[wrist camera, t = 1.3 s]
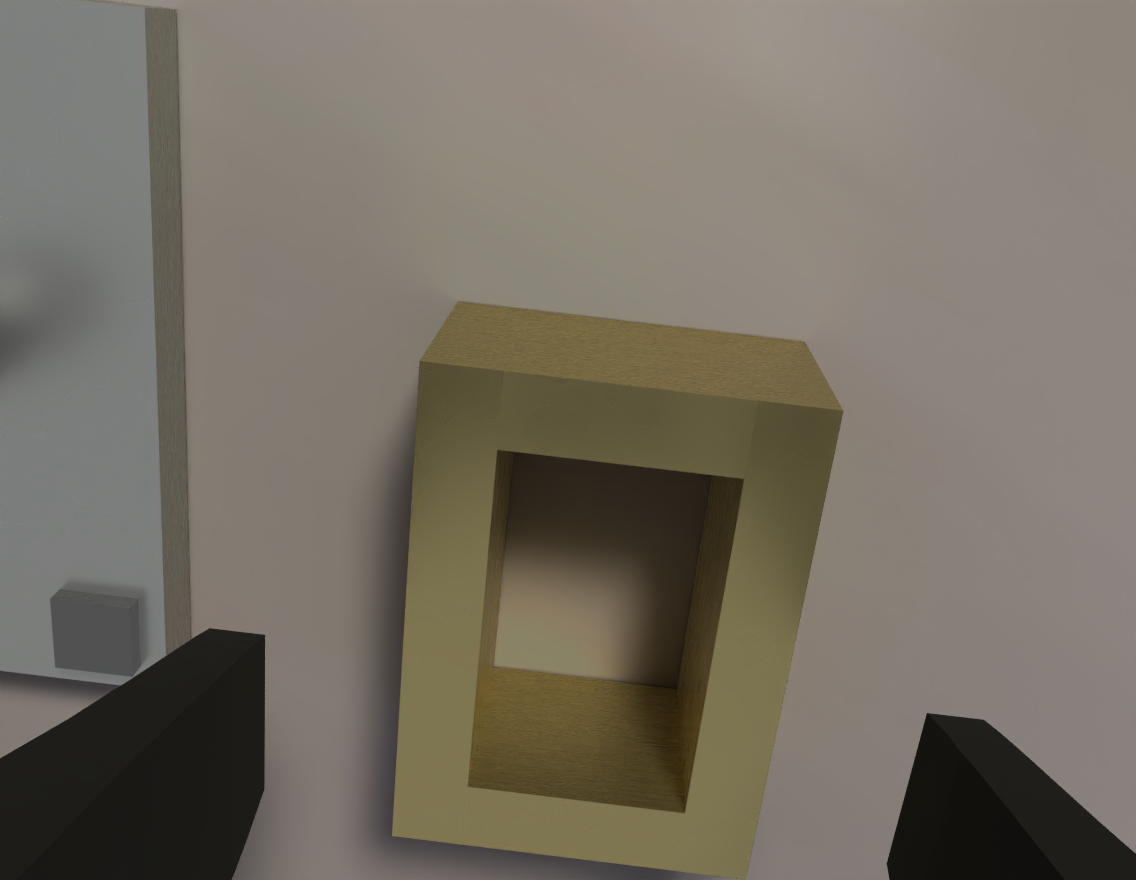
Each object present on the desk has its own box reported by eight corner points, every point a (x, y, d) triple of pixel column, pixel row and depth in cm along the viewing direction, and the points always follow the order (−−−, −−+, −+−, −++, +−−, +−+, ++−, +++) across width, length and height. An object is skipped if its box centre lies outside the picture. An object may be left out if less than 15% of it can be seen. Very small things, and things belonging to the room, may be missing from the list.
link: (728, 747, 18) (745, 879, 15) (429, 711, 18) (392, 835, 15) (805, 342, 15) (843, 410, 13) (458, 301, 16) (419, 360, 13)
